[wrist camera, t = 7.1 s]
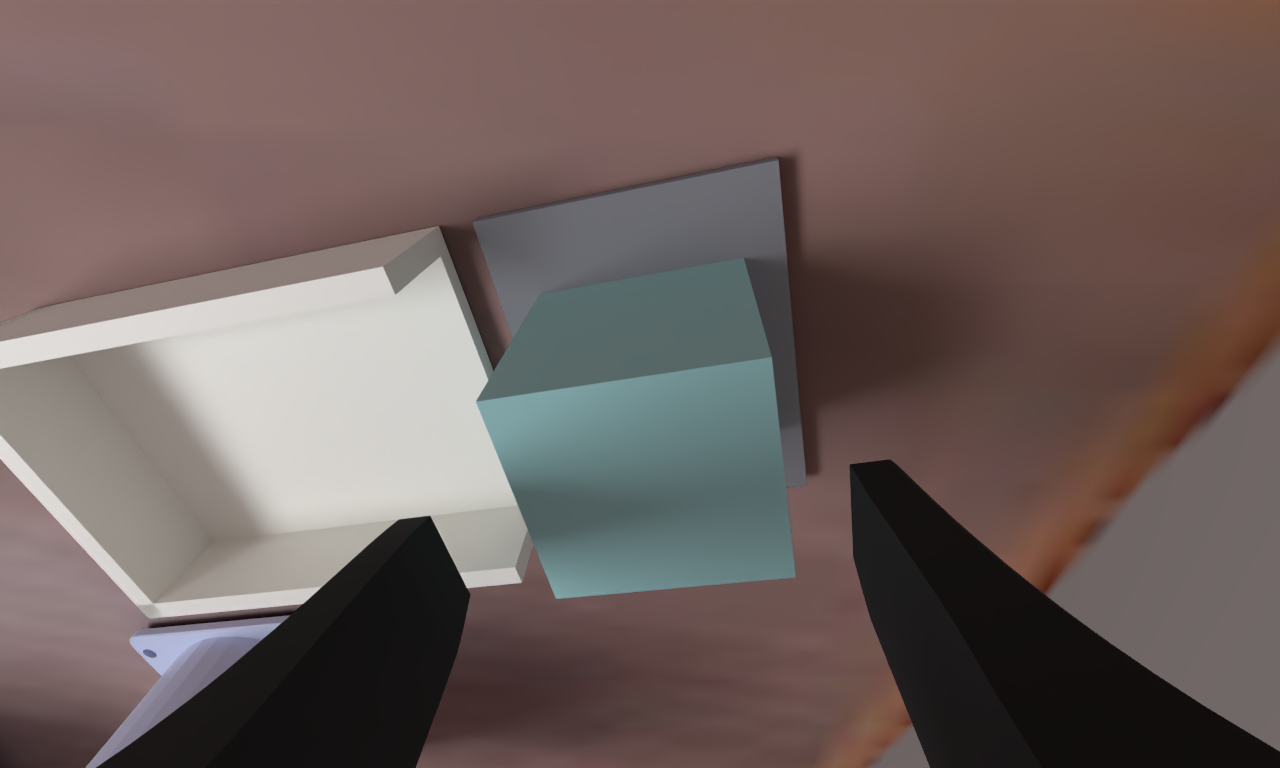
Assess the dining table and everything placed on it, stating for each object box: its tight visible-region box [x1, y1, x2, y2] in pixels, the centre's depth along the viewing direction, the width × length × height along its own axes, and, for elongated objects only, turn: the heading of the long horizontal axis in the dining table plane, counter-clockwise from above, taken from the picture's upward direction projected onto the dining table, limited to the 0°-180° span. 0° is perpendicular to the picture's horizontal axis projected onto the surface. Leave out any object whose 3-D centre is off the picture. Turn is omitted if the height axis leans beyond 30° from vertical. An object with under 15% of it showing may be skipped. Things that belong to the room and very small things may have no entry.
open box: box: [0, 226, 534, 619], centre depth 16 cm, size 9×12×3 cm
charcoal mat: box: [472, 157, 807, 488], centre depth 15 cm, size 9×7×1 cm
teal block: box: [476, 258, 796, 599], centre depth 13 cm, size 5×5×5 cm
